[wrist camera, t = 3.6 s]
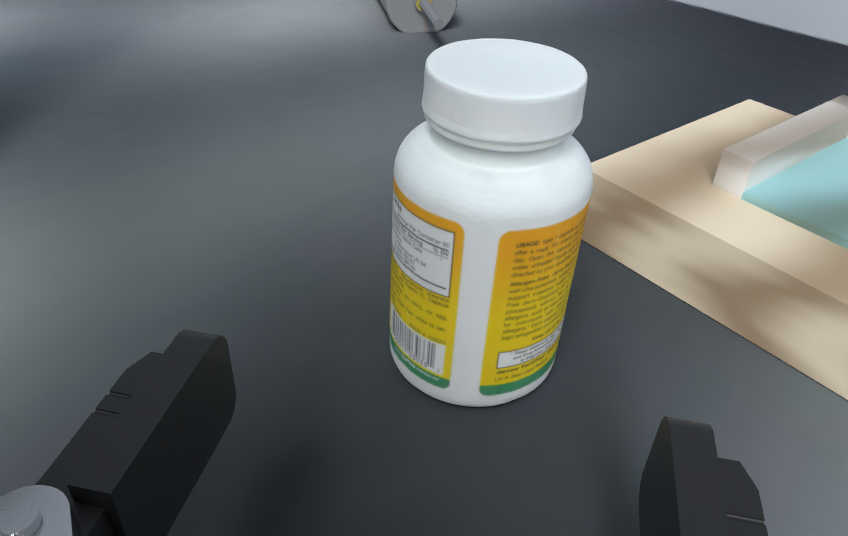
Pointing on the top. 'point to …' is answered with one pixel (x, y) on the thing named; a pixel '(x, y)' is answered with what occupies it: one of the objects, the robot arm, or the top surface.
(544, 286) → the supplement bottle
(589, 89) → the top surface
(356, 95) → the top surface
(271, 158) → the top surface
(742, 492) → the robot arm
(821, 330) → the dock
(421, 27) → the motor
